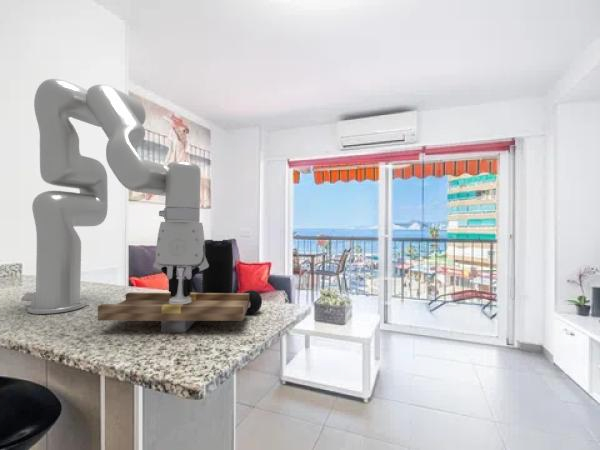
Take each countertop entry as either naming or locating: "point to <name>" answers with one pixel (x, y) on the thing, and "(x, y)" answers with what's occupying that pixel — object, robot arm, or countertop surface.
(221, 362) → the countertop surface
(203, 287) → the portable speaker
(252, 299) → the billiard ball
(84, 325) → the countertop surface
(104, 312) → the beam
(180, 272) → the chess piece
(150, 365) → the countertop surface
